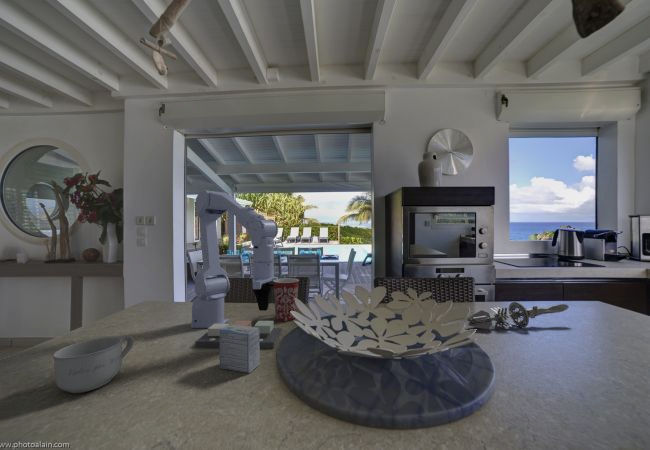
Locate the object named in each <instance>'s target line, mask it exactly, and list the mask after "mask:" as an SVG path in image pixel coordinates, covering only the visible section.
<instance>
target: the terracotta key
mask: <svg viewBox="0 0 650 450" xmlns="http://www.w3.org/2000/svg"><path fill="white" fill-rule="evenodd" d="M231 325H241V326H249V327H252V320H235V321H234V322H233V323H231Z"/></svg>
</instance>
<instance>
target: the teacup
mask: <svg viewBox="0 0 650 450" xmlns="http://www.w3.org/2000/svg"><path fill="white" fill-rule="evenodd" d="M124 340H126V344H125V345H126V346H125V347H124V348H123V344H122V343H123V342H124ZM134 342H135V341H134V338H133V336H132V335H130V334H122V335H120V336H119V337H118V336H102V337H96V338H92V339H88V340H87V339H86V340H83V341H79V342H76V343H72V344H70V345H67V346H65V347H63V348H59V349H58V350H57V351H55V352H54V353H53V355H52V358H53V361H54V362H53V367H54V370H53V371H54V379H55V384H56V386H57V387H58V388H59V389H60V390H62V391H65V392H68V393H72V394H81V393H86V392H90V391H94V390H96V389H99V388H101V387H104V386H105V385H106V384H108V383H109V382H111V380H113V378H114V377H115V376H116V375H117V374H118V373H119V371H121V368H122V366H123V365H122V364H123V359H124V358H125V357H126V356H127V355H128V353H130V351H131V350H132V348H133V346H134Z"/></svg>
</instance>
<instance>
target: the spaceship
mask: <svg viewBox="0 0 650 450" xmlns="http://www.w3.org/2000/svg"><path fill="white" fill-rule="evenodd" d="M568 309H569V305H568V304H564V303H563V304H561V303H559V304H555V305H552V306H543V307H542V306H541V307H540V306H538V305H533V306H532V307H531V308H530V307H529V308H527V307H526V308H525V306H524V305H523V304H521V303H520V302H518V301H512V302H510V303H509V305H508V307H502V308H501V307H497V306H496V307H493V308H492V307H491V308H490V310H492V311H493V312H492V313H489V312H487V311H485V310H482V309H481V310H479V311H478V312H476V313H474V314H472V315H471V316H469V317H468V318H467V321H468V323H467V324H468V326H469V327H473V328H477V329H482V330H489V329H491V327H492V326H493V322H492V321H494V323H495V324H494V326H495V327H502V328H504V329H505V328H509V327H513V325H511V324H510V323H509V322H513V324H514V325H516V326H517V325H518V326H517V327H519V326H520V327H519V328H522V327H523V328H522V329H524V328H526V327H527V326H528V325H529V322H530V319H532V320H533V319H535V318H536V317H538V316H541V315H547V314H555V313H563V312H564V311H567V310H568ZM507 311H508V312H507ZM498 325H499V326H498Z"/></svg>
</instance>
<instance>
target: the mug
mask: <svg viewBox="0 0 650 450" xmlns="http://www.w3.org/2000/svg"><path fill="white" fill-rule="evenodd" d="M299 282H300V279H298V278H293V277H282V278H278V279H277V280H273V281H272V283H274V284H275V285H274V288H273V294H274V296H273V297H274V312H275V319H276V321H278V322H291V321H294V318H293V316H292V314H291V313H290V311H291V310H293V311H296V312H298V310H297V309H298V305H297V306H296V304H295V300H294V298H297V299H298V298H299V297H298V295H299V294H298V293H299Z"/></svg>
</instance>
